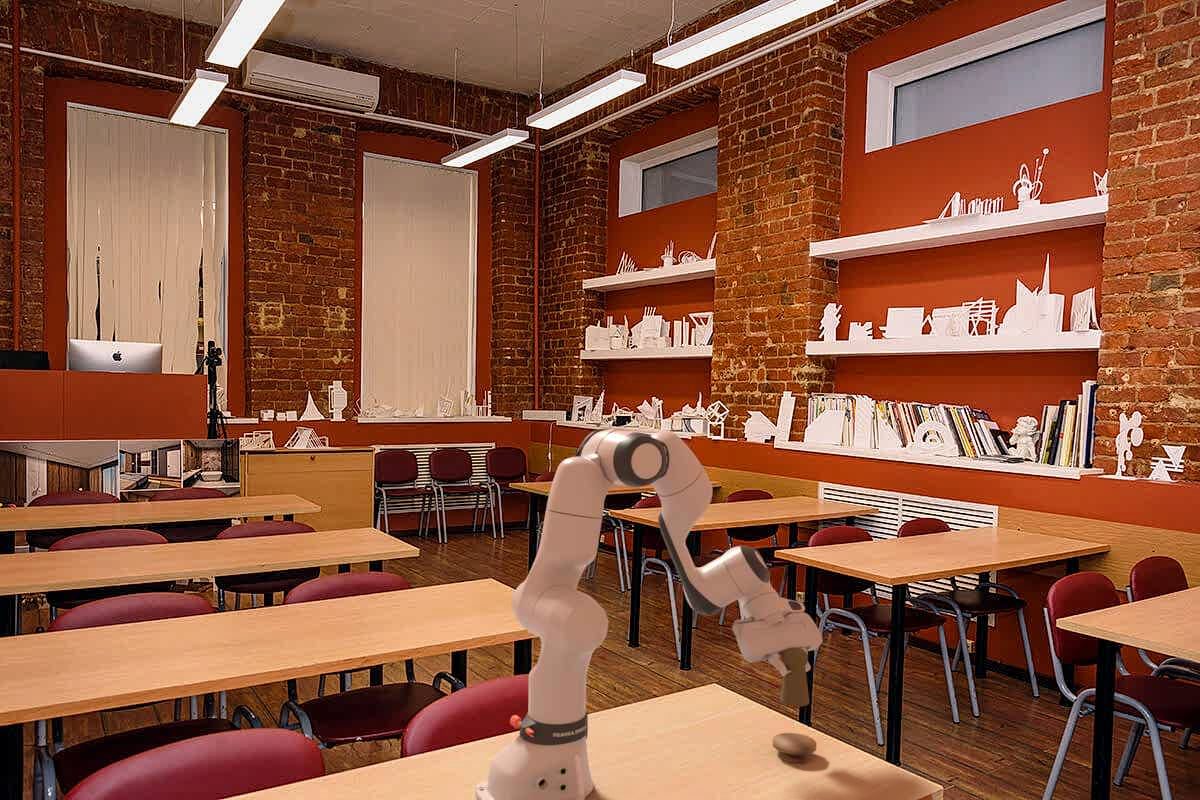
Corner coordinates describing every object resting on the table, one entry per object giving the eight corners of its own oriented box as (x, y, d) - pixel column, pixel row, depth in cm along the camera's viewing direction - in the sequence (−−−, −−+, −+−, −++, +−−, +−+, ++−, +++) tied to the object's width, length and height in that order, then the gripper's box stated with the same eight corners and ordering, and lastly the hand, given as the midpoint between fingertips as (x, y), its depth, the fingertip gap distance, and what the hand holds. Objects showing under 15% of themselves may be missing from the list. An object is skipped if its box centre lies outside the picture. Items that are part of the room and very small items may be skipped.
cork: (809, 707, 178) (810, 654, 177) (779, 705, 179) (780, 652, 179) (809, 697, 184) (809, 645, 183) (780, 694, 185) (780, 643, 185)
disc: (793, 769, 175) (793, 754, 175) (763, 752, 183) (763, 738, 183) (825, 759, 180) (825, 745, 180) (795, 744, 188) (795, 729, 187)
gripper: (735, 613, 182) (766, 673, 173) (808, 601, 192) (840, 657, 184) (722, 629, 186) (751, 688, 177) (793, 616, 196) (824, 672, 188)
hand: (797, 672), depth 181 cm, fingers closed on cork, 4 cm apart
